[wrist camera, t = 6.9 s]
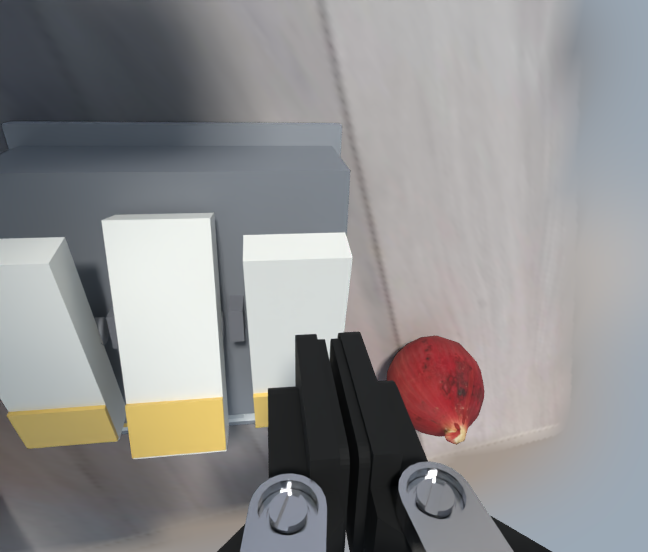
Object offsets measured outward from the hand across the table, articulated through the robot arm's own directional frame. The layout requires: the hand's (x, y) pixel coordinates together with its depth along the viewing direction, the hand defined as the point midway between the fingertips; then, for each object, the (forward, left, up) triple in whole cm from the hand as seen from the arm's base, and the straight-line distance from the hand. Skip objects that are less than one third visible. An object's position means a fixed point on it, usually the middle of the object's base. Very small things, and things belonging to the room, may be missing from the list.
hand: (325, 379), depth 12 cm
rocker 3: (+3, 0, -8) cm, 9 cm away
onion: (+11, +9, -15) cm, 21 cm away
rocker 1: (+3, -10, -8) cm, 13 cm away
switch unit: (+6, -5, -15) cm, 17 cm away
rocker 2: (+3, -5, -8) cm, 10 cm away
